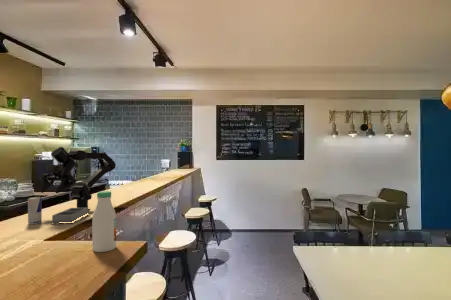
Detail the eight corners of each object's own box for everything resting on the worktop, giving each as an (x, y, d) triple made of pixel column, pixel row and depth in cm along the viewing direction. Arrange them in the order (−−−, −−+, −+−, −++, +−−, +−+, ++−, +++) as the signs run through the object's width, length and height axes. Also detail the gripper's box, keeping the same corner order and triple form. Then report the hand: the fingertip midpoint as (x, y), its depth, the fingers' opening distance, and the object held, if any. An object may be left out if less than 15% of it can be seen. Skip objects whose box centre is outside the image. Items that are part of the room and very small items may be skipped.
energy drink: (44, 221, 137) (44, 197, 137) (35, 224, 132) (35, 199, 132) (34, 221, 138) (33, 196, 138) (25, 224, 133) (24, 198, 132)
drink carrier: (70, 215, 151) (70, 207, 151) (89, 214, 151) (89, 207, 151) (50, 224, 133) (50, 215, 133) (72, 223, 133) (72, 215, 133)
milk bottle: (110, 252, 96) (110, 193, 96) (88, 252, 96) (87, 193, 96) (119, 245, 104) (119, 190, 104) (98, 245, 104) (98, 190, 104)
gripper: (42, 158, 150) (23, 182, 139) (71, 158, 145) (53, 183, 134) (55, 172, 158) (37, 195, 147) (83, 172, 153) (67, 196, 142)
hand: (48, 192), depth 143 cm, fingers open, 9 cm apart
